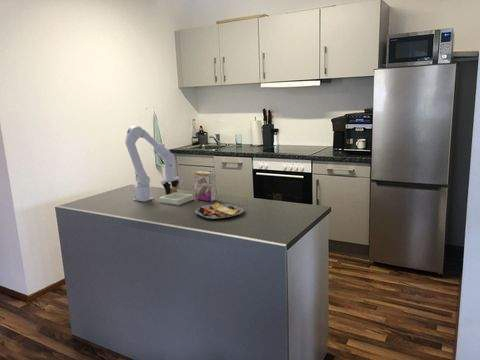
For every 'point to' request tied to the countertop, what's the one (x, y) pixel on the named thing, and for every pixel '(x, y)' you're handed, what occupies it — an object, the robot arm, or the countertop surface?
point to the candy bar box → (205, 186)
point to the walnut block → (172, 190)
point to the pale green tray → (175, 198)
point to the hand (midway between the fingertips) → (171, 193)
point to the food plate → (218, 210)
